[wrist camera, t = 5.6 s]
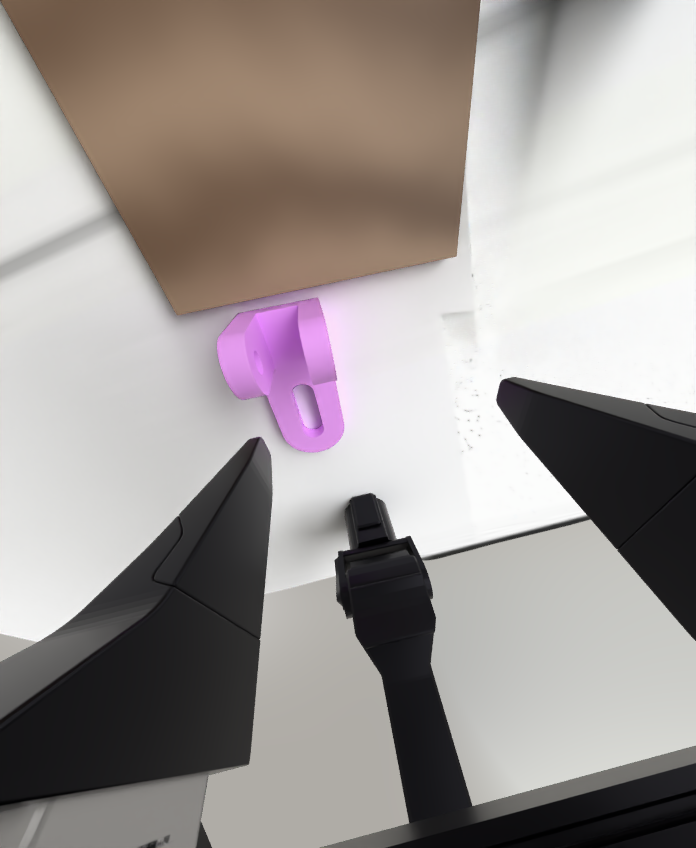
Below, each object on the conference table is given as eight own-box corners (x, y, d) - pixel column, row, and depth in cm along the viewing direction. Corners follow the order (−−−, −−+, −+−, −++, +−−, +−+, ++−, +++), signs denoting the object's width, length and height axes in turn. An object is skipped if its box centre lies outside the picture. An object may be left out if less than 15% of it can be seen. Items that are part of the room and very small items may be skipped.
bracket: (238, 312, 17) (209, 347, 11) (318, 297, 17) (326, 324, 12) (292, 447, 25) (290, 507, 19) (346, 436, 25) (359, 491, 20)
